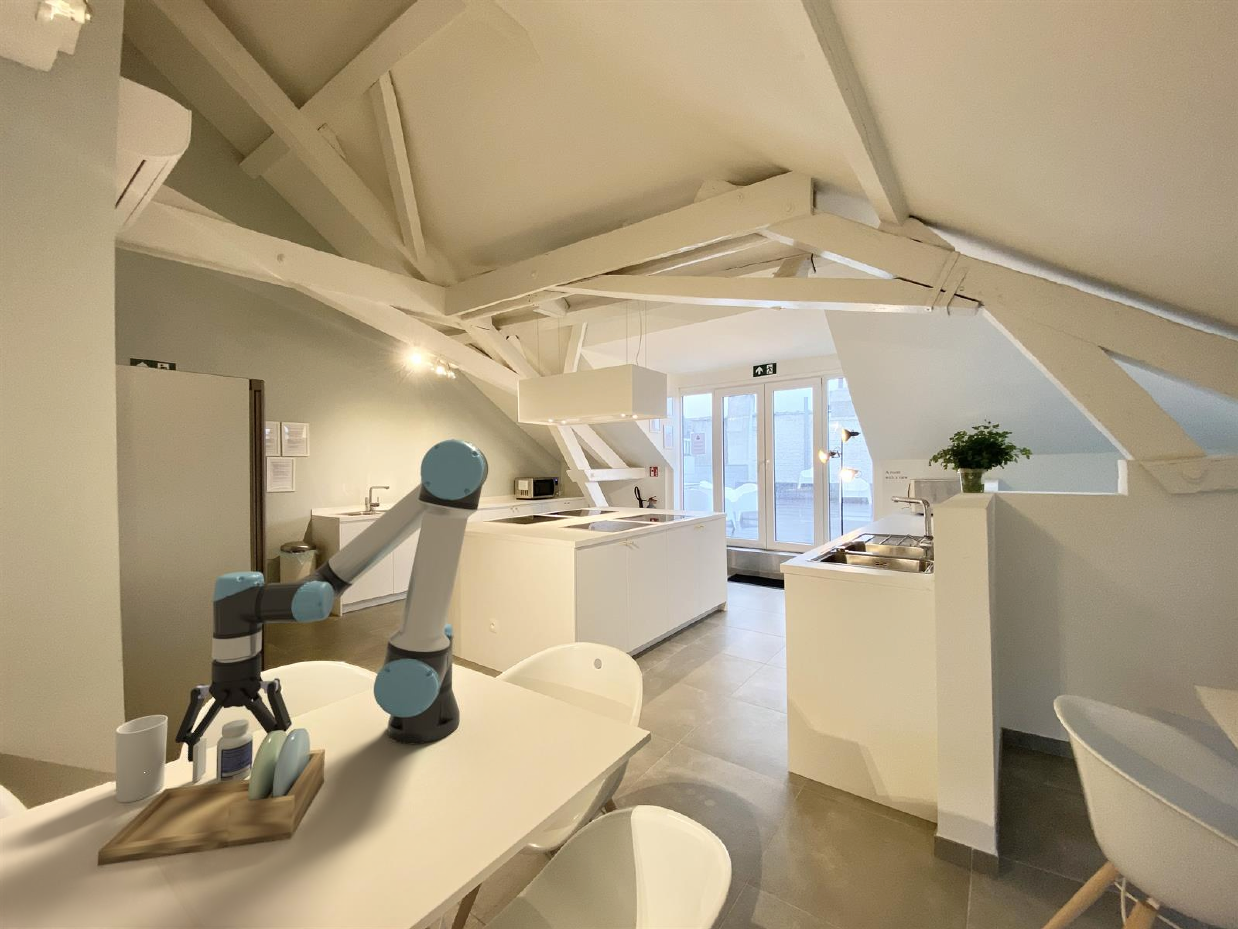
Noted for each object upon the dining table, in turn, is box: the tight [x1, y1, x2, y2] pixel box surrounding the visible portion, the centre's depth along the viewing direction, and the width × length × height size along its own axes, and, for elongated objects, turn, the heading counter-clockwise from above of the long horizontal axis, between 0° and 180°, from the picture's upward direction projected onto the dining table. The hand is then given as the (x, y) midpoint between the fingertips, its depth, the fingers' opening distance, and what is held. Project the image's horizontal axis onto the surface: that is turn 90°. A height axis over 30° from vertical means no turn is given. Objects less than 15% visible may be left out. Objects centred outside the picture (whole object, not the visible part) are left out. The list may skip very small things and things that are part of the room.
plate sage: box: [248, 730, 288, 801], centre depth 85 cm, size 1×12×12 cm, turn 13°
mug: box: [115, 714, 168, 803], centre depth 92 cm, size 10×7×12 cm, turn 16°
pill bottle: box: [215, 718, 254, 783], centre depth 95 cm, size 5×5×10 cm
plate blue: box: [273, 727, 311, 798], centre depth 85 cm, size 1×12×12 cm, turn 13°
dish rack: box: [97, 748, 326, 867], centre depth 83 cm, size 25×15×6 cm, turn 103°
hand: (234, 773), depth 95 cm, fingers open, 11 cm apart
